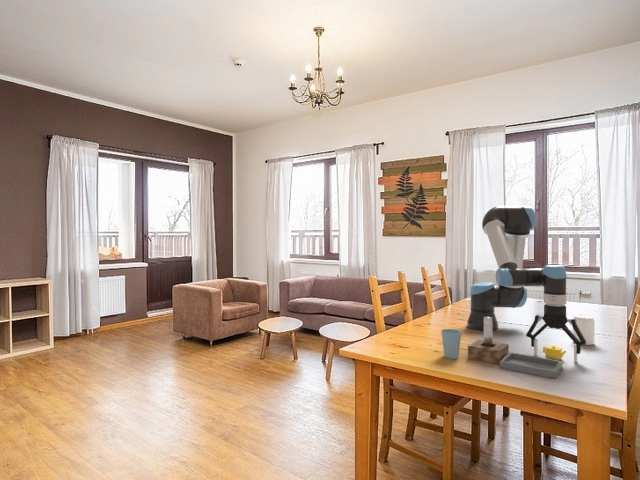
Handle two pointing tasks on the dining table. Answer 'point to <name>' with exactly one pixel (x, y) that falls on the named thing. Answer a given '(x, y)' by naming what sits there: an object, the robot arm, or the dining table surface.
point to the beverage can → (585, 328)
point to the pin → (488, 332)
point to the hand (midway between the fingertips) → (555, 358)
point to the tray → (532, 365)
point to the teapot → (553, 352)
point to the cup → (451, 342)
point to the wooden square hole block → (487, 351)
